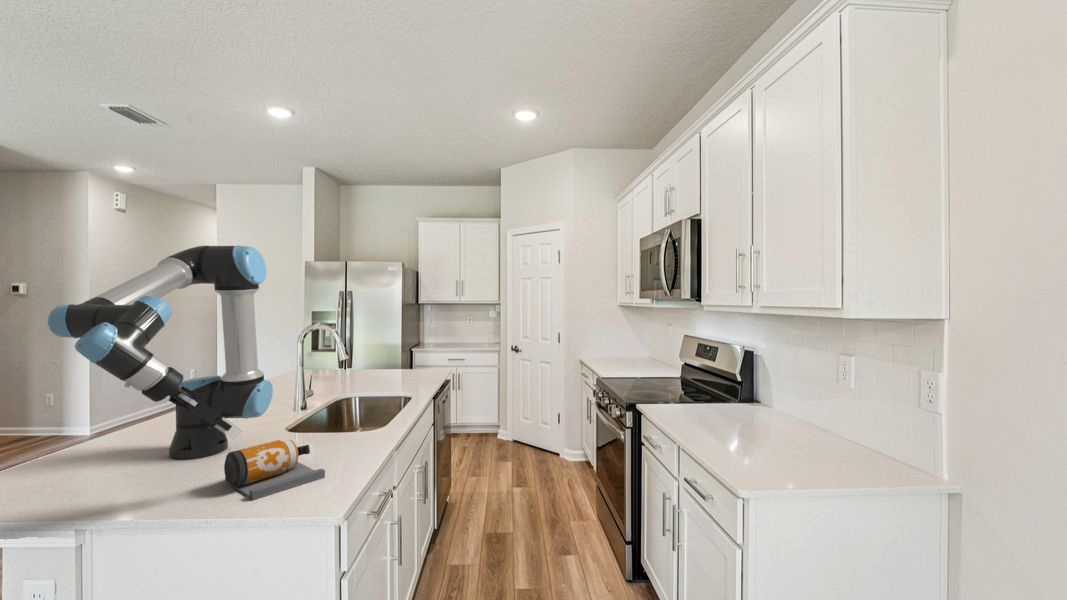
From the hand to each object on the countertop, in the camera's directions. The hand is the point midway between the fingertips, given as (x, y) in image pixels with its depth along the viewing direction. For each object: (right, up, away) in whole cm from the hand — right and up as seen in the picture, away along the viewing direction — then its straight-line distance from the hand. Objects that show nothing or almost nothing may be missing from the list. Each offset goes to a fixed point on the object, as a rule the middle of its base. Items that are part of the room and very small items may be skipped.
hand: (238, 434), depth 119 cm
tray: (+6, -14, +7) cm, 17 cm away
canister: (-3, -9, +1) cm, 10 cm away
